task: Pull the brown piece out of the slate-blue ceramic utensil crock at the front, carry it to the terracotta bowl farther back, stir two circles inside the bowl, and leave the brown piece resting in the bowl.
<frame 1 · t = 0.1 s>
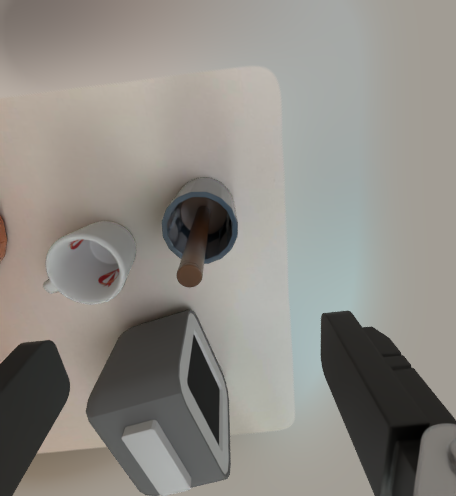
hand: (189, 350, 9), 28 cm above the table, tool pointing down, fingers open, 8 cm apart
alarm clock: (175, 356, 44), on the table
brown piece: (204, 207, 35), point 1 cm above the table, touching utensil crock
cup: (103, 248, 38), on the table
utensil crock: (205, 206, 36), on the table
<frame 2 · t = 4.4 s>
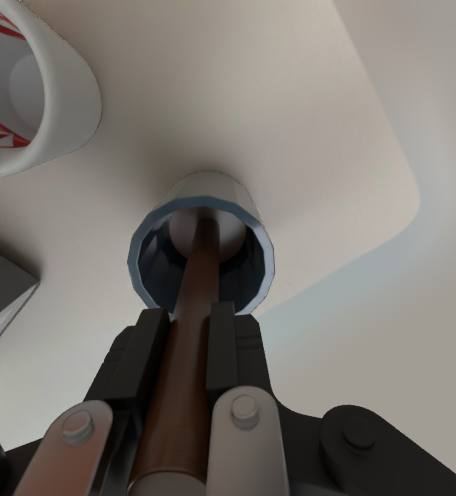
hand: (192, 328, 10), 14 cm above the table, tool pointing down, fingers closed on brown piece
brown piece: (209, 220, 22), point 1 cm above the table, touching gripper
cup: (37, 86, 19), on the table
utensil crock: (209, 217, 23), on the table
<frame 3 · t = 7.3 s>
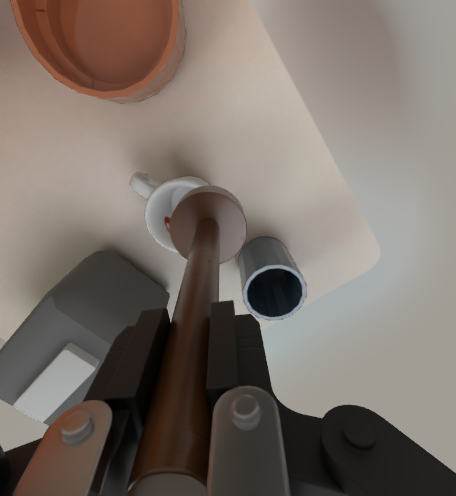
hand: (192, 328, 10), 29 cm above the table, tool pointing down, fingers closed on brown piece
alarm clock: (106, 299, 43), on the table
brown piece: (209, 220, 22), point 16 cm above the table, touching gripper
cup: (181, 195, 38), on the table
mixing bowl: (118, 28, 31), on the table
utensil crock: (264, 260, 41), on the table
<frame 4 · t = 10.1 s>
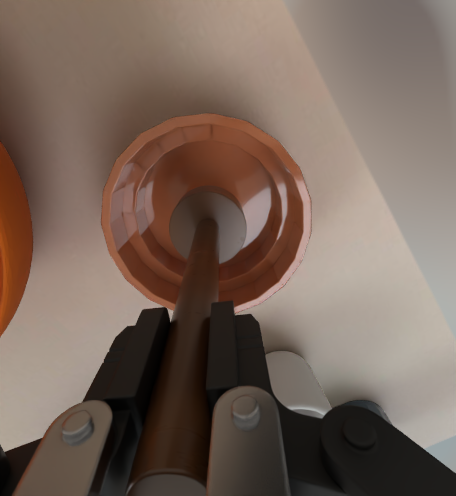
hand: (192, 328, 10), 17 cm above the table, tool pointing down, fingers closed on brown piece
brown piece: (209, 220, 22), point 4 cm above the table, touching gripper
cup: (268, 363, 32), on the table
mixing bowl: (210, 207, 26), on the table
utensil crock: (355, 421, 36), on the table
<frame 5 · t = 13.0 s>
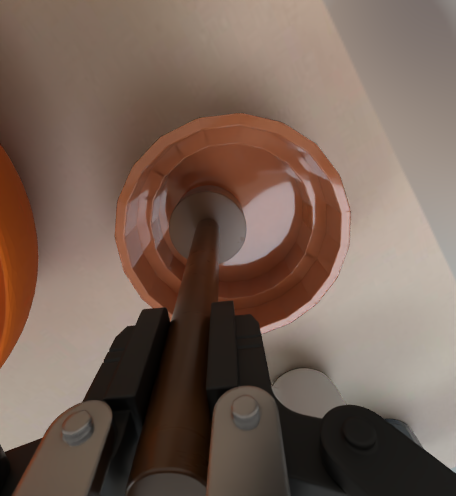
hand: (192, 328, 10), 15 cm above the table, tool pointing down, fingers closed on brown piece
brown piece: (209, 220, 22), point 2 cm above the table, touching gripper
cup: (288, 380, 30), on the table
mixing bowl: (230, 215, 24), on the table
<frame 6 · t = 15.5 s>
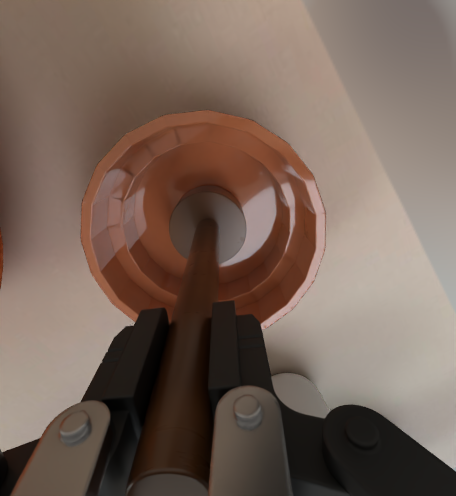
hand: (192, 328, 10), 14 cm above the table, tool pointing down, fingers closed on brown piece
brown piece: (209, 220, 22), point 1 cm above the table, touching gripper
cup: (272, 385, 30), on the table
mixing bowl: (208, 216, 23), on the table
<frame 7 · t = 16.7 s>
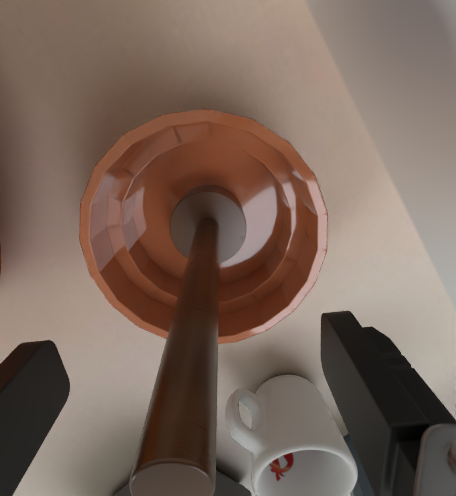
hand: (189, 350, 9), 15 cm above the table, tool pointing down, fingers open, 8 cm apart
alarm clock: (168, 487, 35), on the table
brown piece: (209, 219, 22), point 1 cm above the table, touching mixing bowl
cup: (272, 387, 29), on the table
mixing bowl: (209, 217, 23), on the table
utensil crock: (368, 448, 33), on the table
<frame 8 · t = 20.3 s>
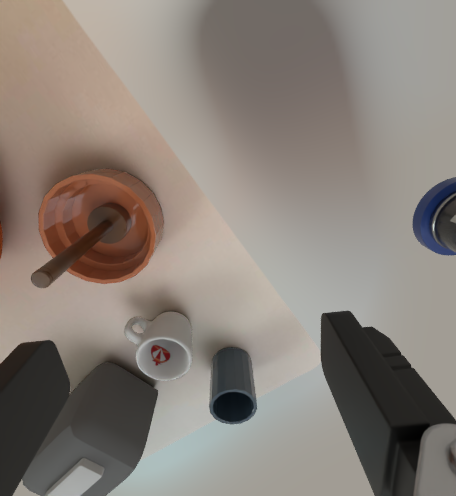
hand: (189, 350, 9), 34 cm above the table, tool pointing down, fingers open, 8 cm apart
alarm clock: (109, 391, 55), on the table
brown piece: (113, 220, 42), point 1 cm above the table, touching mixing bowl
cup: (165, 320, 49), on the table
mixing bowl: (114, 219, 42), on the table
utensil crock: (231, 363, 52), on the table
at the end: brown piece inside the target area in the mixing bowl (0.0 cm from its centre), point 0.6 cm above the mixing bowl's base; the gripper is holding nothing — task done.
